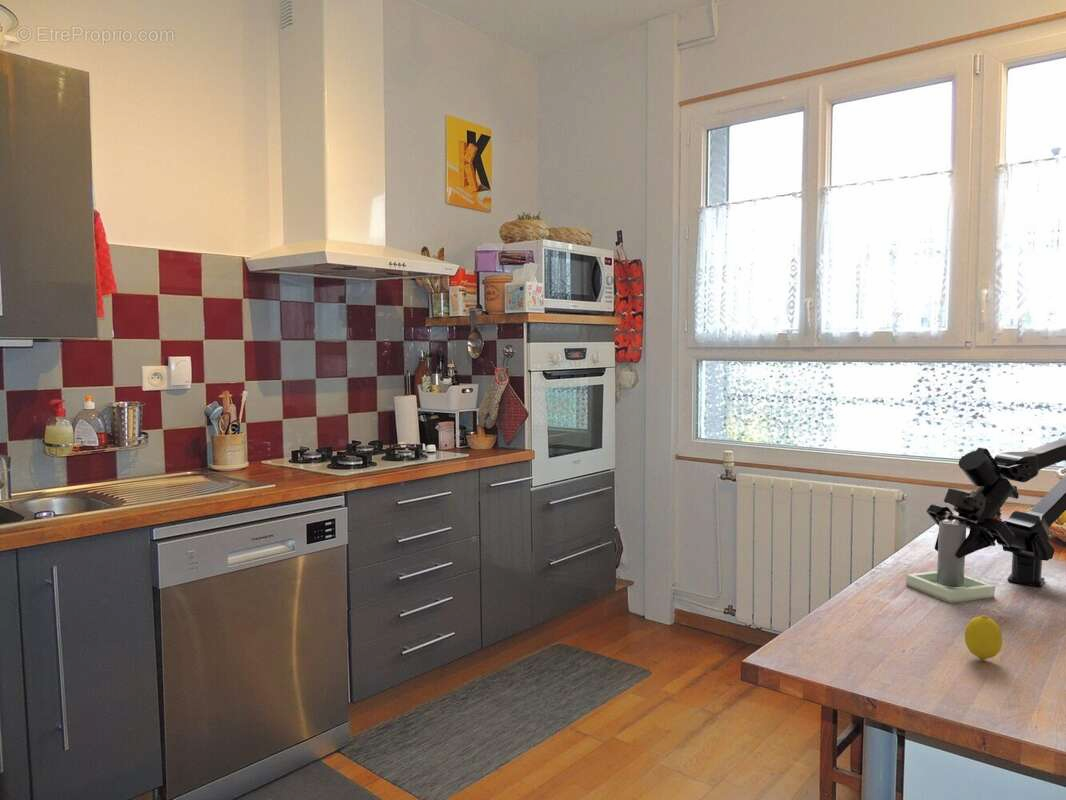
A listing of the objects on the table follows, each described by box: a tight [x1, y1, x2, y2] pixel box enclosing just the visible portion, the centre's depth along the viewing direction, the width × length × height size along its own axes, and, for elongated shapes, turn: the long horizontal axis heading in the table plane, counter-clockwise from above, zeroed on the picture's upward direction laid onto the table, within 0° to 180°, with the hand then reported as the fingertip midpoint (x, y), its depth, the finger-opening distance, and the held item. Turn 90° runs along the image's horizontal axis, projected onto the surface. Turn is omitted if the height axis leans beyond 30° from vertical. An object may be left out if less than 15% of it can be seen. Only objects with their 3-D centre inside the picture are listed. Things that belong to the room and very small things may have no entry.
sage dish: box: [905, 570, 996, 604], centre depth 165 cm, size 12×12×2 cm
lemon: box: [964, 614, 1003, 662], centre depth 129 cm, size 6×6×8 cm
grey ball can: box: [936, 519, 967, 587], centre depth 164 cm, size 5×5×14 cm
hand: (946, 553), depth 164 cm, fingers closed on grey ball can, 5 cm apart
